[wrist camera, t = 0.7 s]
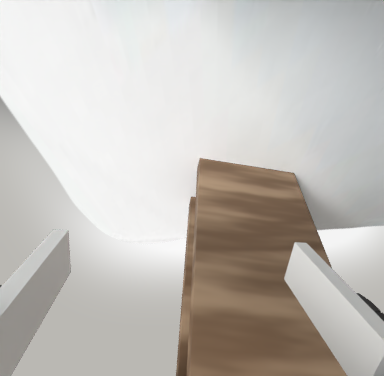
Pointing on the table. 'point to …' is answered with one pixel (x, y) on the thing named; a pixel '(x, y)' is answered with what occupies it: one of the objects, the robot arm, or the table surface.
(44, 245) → the robot arm
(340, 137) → the table surface
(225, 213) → the shelf
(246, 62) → the table surface
